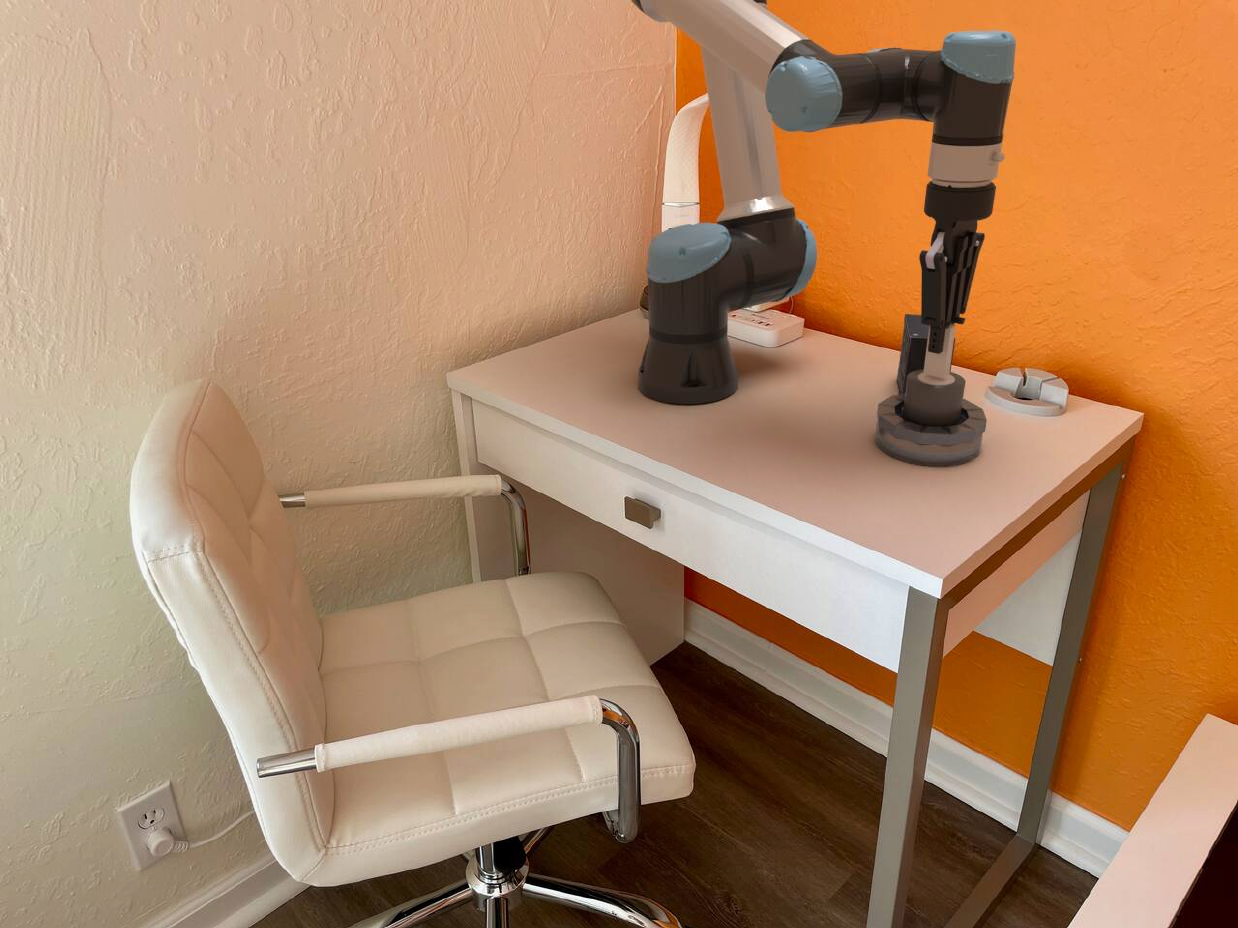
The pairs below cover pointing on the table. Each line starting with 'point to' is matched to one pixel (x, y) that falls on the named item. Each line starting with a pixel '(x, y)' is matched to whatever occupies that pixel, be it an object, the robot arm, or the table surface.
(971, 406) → the faceted ashtray
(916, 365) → the small box
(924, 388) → the cap
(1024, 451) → the table surface
